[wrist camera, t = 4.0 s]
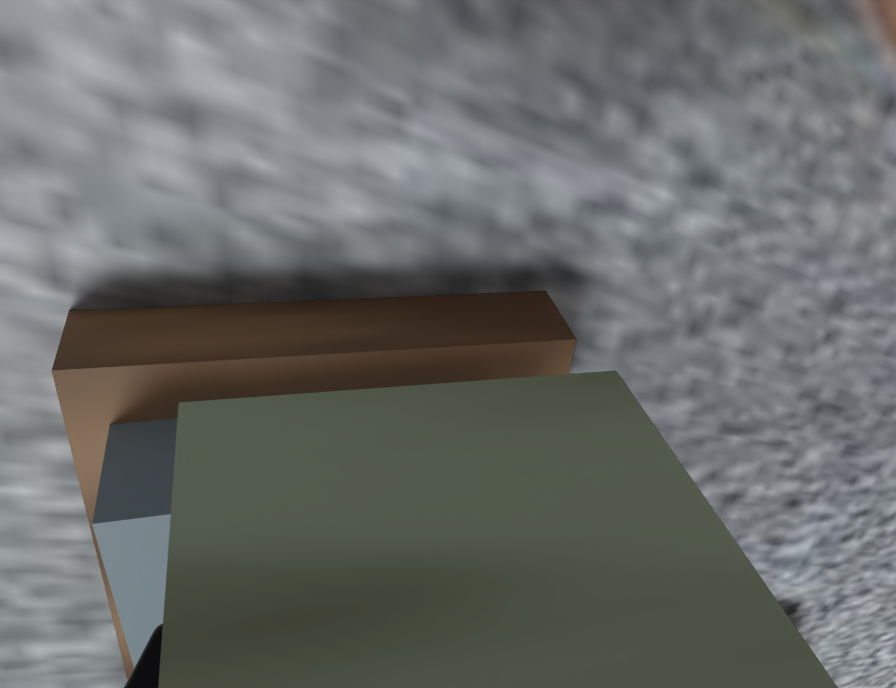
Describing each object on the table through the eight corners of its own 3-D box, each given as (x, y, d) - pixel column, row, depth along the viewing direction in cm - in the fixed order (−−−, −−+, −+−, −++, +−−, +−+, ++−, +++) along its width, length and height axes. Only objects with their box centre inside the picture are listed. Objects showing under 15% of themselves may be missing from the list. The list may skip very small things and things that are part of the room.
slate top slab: (463, 608, 25) (488, 695, 22) (166, 657, 23) (160, 758, 20) (489, 387, 20) (527, 469, 17) (109, 424, 17) (92, 523, 15)
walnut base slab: (485, 560, 28) (509, 631, 26) (138, 606, 25) (130, 690, 23) (537, 278, 22) (576, 339, 19) (72, 296, 19) (51, 370, 16)
